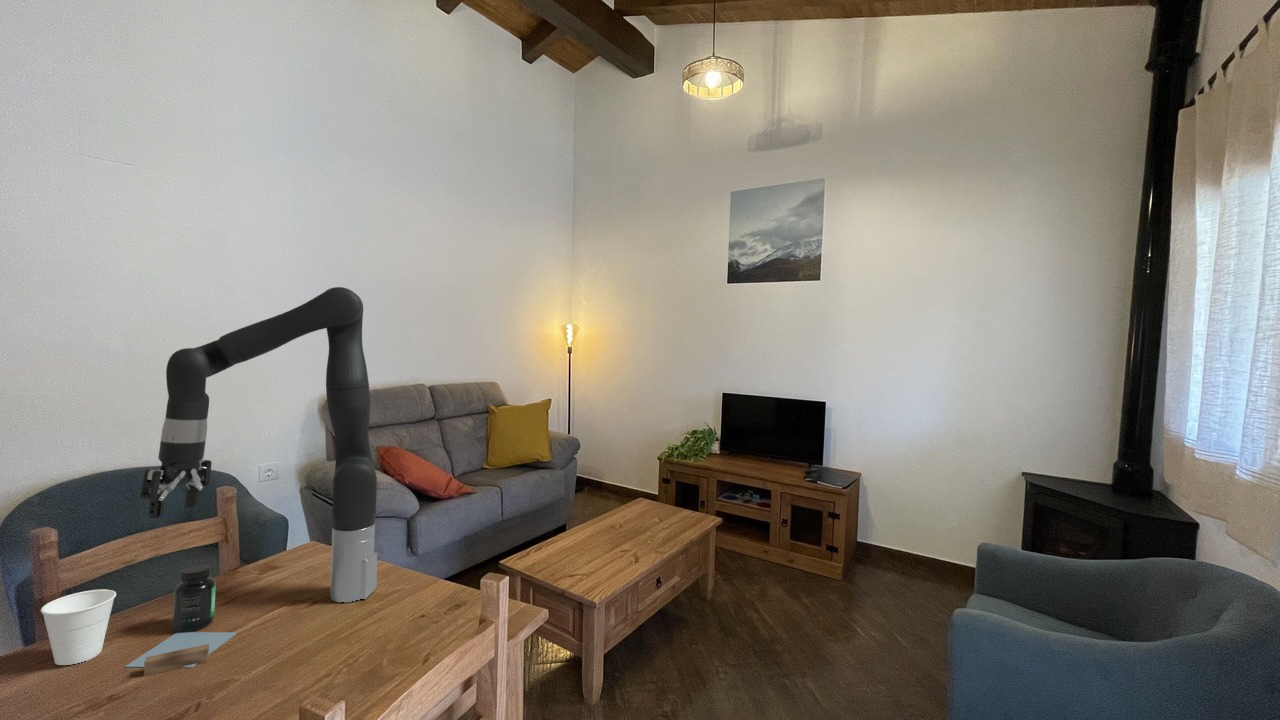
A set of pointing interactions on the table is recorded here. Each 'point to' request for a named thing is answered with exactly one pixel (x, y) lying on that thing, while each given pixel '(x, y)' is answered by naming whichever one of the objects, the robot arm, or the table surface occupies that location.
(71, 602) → the cup
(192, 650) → the rail
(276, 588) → the table surface
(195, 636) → the mat
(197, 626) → the supplement bottle
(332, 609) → the table surface
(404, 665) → the table surface
